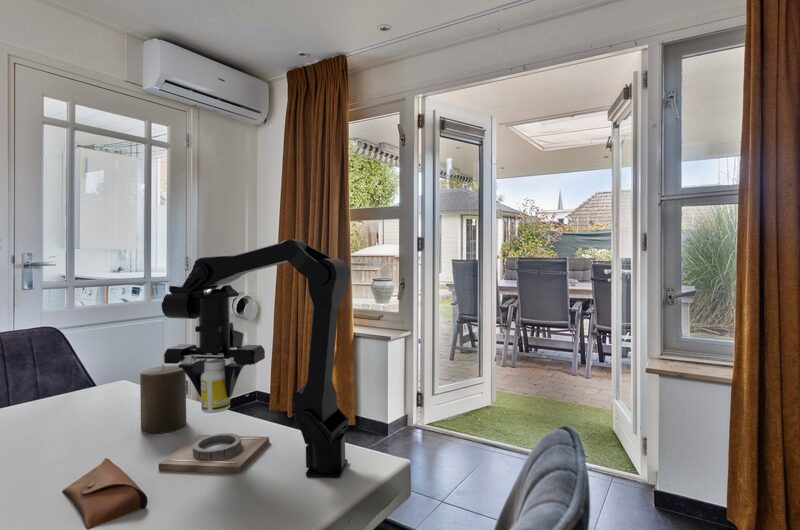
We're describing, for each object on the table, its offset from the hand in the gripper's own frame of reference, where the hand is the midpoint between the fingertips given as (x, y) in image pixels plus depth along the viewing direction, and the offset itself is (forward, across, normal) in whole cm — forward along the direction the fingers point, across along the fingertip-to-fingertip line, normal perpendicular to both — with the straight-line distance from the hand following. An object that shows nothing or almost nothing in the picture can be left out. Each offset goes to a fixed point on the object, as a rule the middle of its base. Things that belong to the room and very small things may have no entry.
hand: (216, 396), depth 92 cm
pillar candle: (+12, +21, -14) cm, 28 cm away
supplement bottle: (+3, 0, 0) cm, 3 cm away
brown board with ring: (+12, 0, 0) cm, 12 cm away
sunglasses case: (+13, +11, +17) cm, 24 cm away
